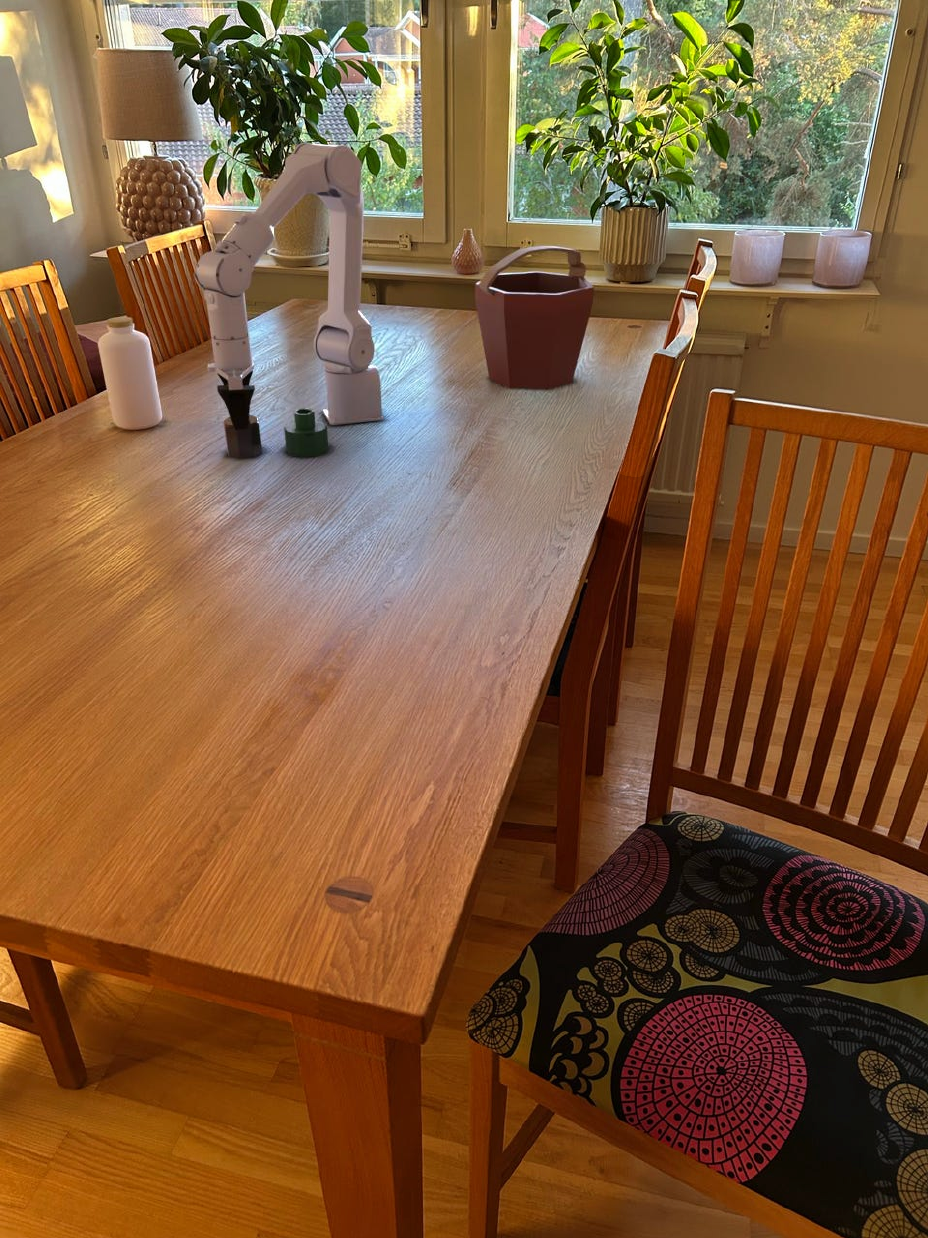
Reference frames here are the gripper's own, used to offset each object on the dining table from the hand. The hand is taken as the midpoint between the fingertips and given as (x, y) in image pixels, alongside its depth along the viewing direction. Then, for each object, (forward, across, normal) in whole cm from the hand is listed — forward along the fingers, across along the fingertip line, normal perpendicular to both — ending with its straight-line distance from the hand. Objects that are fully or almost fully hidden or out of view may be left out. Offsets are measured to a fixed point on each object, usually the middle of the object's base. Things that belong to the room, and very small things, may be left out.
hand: (240, 421), depth 149 cm
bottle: (+5, +1, +10) cm, 12 cm away
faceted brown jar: (+5, 0, 0) cm, 5 cm away
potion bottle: (+6, -18, -18) cm, 26 cm away
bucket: (+5, -30, +58) cm, 66 cm away
